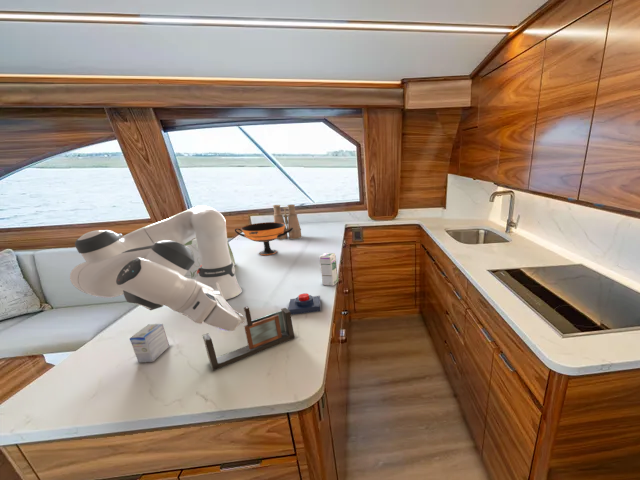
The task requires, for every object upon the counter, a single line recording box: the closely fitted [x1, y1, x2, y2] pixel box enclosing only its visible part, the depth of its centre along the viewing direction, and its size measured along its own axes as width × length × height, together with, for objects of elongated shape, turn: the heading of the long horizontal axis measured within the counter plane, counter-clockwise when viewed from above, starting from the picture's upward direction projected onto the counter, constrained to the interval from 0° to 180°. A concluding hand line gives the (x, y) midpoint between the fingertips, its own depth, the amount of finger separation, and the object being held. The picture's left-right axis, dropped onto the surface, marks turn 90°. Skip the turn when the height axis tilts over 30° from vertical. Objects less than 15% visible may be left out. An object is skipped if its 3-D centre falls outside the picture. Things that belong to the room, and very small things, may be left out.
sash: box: [243, 306, 282, 349], centre depth 92 cm, size 10×1×14 cm, turn 132°
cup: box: [234, 221, 293, 256], centre depth 190 cm, size 36×26×18 cm
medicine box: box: [129, 323, 170, 363], centre depth 91 cm, size 8×4×9 cm, turn 5°
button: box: [297, 292, 310, 301], centre depth 119 cm, size 4×4×2 cm
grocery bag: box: [184, 238, 236, 280], centre depth 153 cm, size 32×14×23 cm, turn 4°
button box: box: [287, 294, 321, 316], centre depth 120 cm, size 12×10×4 cm
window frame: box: [201, 307, 295, 372], centre depth 92 cm, size 24×4×10 cm, turn 132°
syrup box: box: [318, 252, 339, 286], centre depth 141 cm, size 6×6×14 cm
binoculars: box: [272, 204, 303, 240], centre depth 226 cm, size 21×10×25 cm, turn 93°
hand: (243, 319), depth 88 cm, fingers closed
